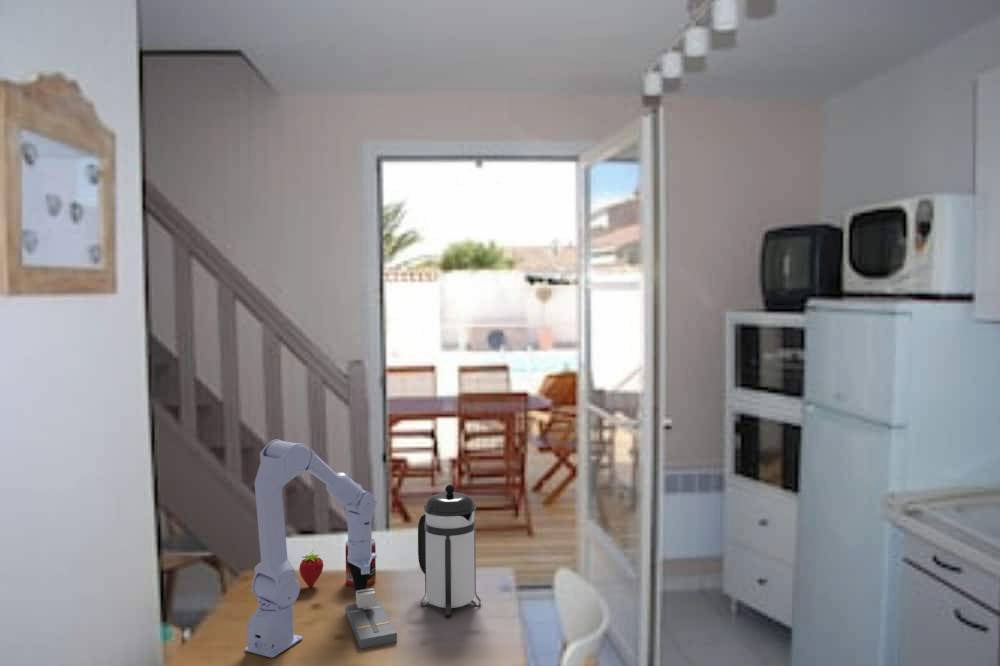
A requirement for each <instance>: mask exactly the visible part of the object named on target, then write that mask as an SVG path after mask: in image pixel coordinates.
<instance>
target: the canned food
mask: <svg viewBox="0 0 1000 666" xmlns="http://www.w3.org/2000/svg"><path fill="white" fill-rule="evenodd" d="M376 551H377V550H376V539H374V538H372V553H376ZM376 554H377V553H376ZM347 557H348V540H346V542H345V582H346V584H347V585H348V586H350V587H352V588H354V583H353V578H352V575H351V572H350V570H349V568H348V566H347V565H348V564H350V563H349V562H348V561H347ZM376 559H377V558H373V559H372V561H371V565H372V566H373V569H372V571H371V573H370V575H369V578H368V582H367V587H368V586H372V585H373V584H375V582H376V577H377V574H376V573H377V568H376V566H377V564H376Z"/></svg>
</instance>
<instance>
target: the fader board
mask: <svg viewBox="0 0 1000 666" xmlns="http://www.w3.org/2000/svg"><path fill="white" fill-rule="evenodd" d="M345 615H346V618H347V620H348V622H349V625H350V628H351V629H352V632H353V633H354V634H353V635H354V636H355V639H356V641H357V644H358V646H359V648H360V650H361V649H367V648H373V647H378V646H382V645H389V644H393V643H398V633H397V630H396V629H395V627H394V625H393V623H392V622H391V620H390V618H389V616H388V614H387V612H386V610H385V609H384V607H383V606H382V603H381V602H380V600H379V599H375V606H369V609H366V610H364V609H363V608H358V606H357V604H356V602H355V603H351V604H345Z"/></svg>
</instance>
